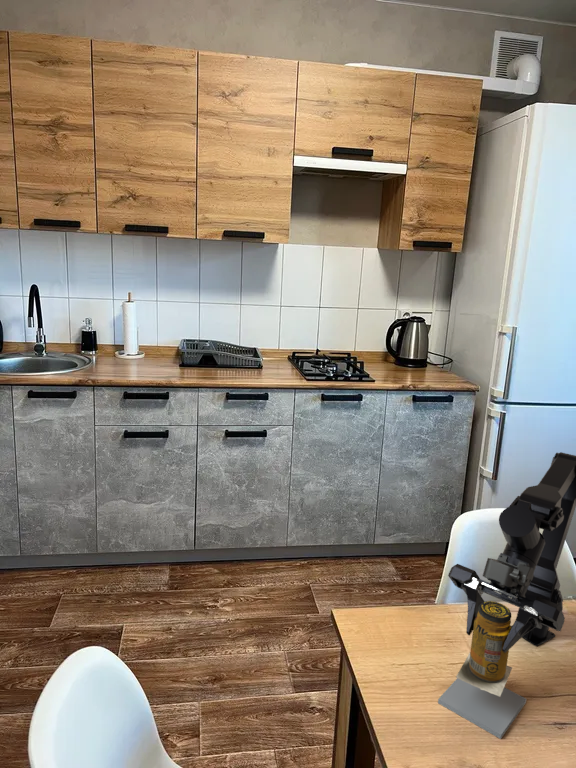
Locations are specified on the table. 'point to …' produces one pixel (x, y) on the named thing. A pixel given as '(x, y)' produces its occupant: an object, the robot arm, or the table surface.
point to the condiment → (488, 649)
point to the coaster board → (483, 706)
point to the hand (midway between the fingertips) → (485, 642)
